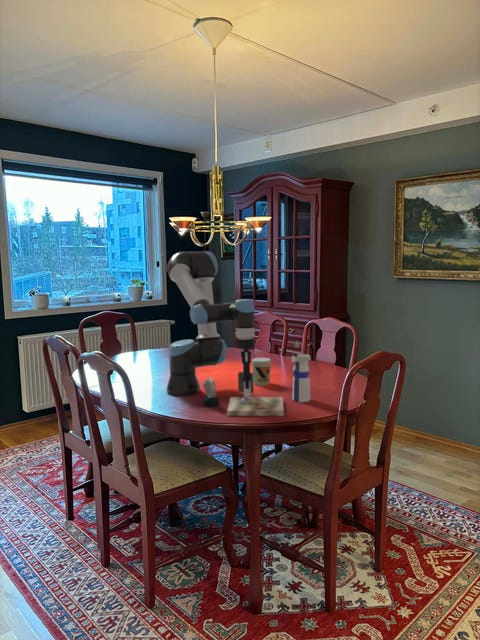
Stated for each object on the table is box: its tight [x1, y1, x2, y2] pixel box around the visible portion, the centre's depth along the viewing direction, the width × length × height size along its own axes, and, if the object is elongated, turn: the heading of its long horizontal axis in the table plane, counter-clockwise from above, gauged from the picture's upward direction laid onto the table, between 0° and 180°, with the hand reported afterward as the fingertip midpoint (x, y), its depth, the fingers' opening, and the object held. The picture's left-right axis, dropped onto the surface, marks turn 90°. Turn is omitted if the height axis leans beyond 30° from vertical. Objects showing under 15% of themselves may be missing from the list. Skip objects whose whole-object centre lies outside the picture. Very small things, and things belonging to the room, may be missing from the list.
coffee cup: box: [251, 357, 272, 387], centre depth 233 cm, size 9×9×12 cm
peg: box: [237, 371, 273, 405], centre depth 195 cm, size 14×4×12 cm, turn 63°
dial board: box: [226, 396, 285, 417], centre depth 197 cm, size 22×18×2 cm
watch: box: [202, 378, 220, 408], centre depth 202 cm, size 6×8×11 cm
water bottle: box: [291, 340, 312, 403], centre depth 206 cm, size 8×9×25 cm
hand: (247, 394), depth 197 cm, fingers closed on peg, 4 cm apart
